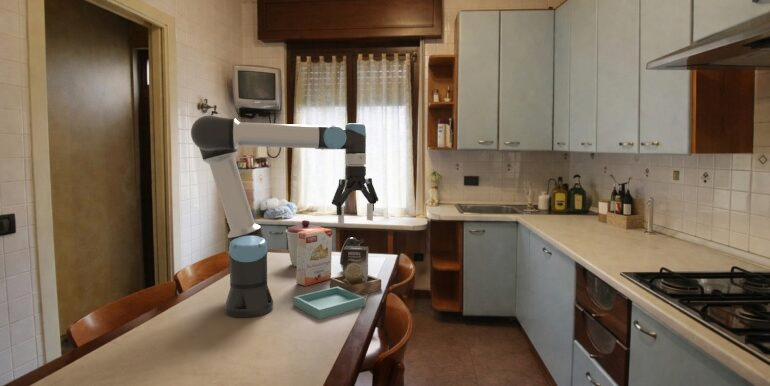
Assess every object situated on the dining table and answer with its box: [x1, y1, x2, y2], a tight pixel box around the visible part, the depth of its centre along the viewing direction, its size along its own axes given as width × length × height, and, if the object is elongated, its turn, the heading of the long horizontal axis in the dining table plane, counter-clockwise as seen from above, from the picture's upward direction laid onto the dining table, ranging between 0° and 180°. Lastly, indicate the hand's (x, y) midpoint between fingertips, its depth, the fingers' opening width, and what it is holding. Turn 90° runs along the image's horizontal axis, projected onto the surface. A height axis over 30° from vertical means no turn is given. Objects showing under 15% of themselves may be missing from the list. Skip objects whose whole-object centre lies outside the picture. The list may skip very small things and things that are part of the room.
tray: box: [293, 286, 366, 320], centre depth 145 cm, size 18×16×3 cm
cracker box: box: [295, 227, 333, 287], centre depth 172 cm, size 14×6×21 cm, turn 141°
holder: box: [329, 274, 382, 296], centre depth 164 cm, size 14×14×4 cm
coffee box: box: [342, 245, 369, 285], centre depth 163 cm, size 9×6×16 cm
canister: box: [285, 219, 323, 268], centre depth 198 cm, size 18×18×21 cm
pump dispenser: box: [339, 236, 364, 270], centre depth 188 cm, size 10×10×15 cm
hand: (355, 222), depth 162 cm, fingers open, 13 cm apart
